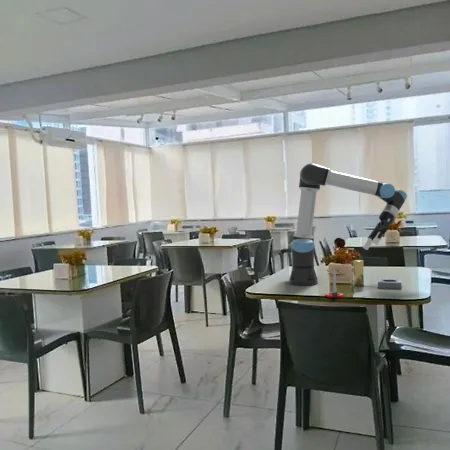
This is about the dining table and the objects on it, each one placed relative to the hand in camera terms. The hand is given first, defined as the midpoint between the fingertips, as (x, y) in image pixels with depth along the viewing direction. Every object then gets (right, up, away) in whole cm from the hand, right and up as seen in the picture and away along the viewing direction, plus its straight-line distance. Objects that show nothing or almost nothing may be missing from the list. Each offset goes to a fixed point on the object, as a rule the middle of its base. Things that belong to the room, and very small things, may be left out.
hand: (369, 246), depth 255 cm
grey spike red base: (-26, -22, -31) cm, 46 cm away
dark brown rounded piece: (-5, -17, +44) cm, 48 cm away
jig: (+6, -20, -13) cm, 24 cm away
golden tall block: (-8, -20, -9) cm, 23 cm away
